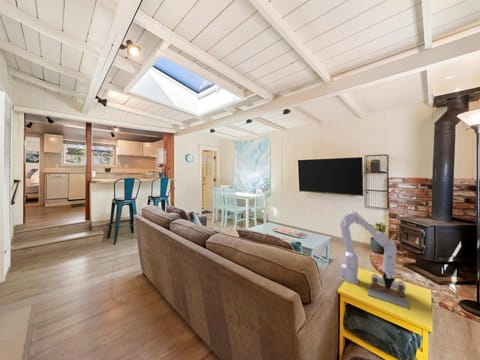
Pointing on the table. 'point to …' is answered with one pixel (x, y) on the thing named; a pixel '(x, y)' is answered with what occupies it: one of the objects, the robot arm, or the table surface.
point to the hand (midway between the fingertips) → (387, 285)
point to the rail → (394, 284)
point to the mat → (388, 298)
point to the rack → (391, 291)
